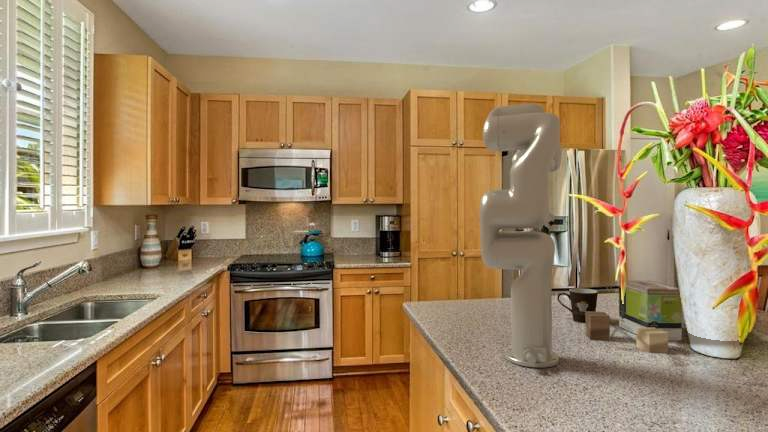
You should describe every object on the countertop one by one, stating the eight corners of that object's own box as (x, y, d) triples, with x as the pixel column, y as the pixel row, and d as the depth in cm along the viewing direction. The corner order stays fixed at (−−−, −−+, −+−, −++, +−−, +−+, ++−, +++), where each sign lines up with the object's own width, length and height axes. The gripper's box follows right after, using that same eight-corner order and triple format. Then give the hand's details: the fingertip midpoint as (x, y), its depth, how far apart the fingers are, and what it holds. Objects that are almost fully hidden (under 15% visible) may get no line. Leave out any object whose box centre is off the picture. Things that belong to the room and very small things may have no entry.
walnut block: (609, 341, 117) (609, 316, 117) (590, 340, 118) (590, 315, 118) (604, 335, 122) (603, 311, 122) (585, 335, 123) (585, 311, 123)
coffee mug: (603, 321, 137) (603, 291, 137) (589, 325, 132) (589, 294, 132) (570, 314, 146) (570, 286, 146) (555, 318, 142) (555, 289, 141)
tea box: (683, 341, 116) (683, 288, 116) (647, 341, 116) (646, 288, 116) (650, 326, 131) (649, 279, 131) (617, 326, 131) (617, 279, 131)
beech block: (668, 352, 107) (667, 332, 107) (649, 352, 107) (649, 333, 107) (654, 345, 112) (654, 327, 112) (636, 346, 112) (636, 327, 112)
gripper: (516, 189, 133) (516, 242, 133) (561, 189, 138) (562, 241, 138) (503, 190, 140) (503, 241, 141) (546, 190, 145) (547, 239, 145)
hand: (532, 241), depth 139 cm, fingers open, 9 cm apart
